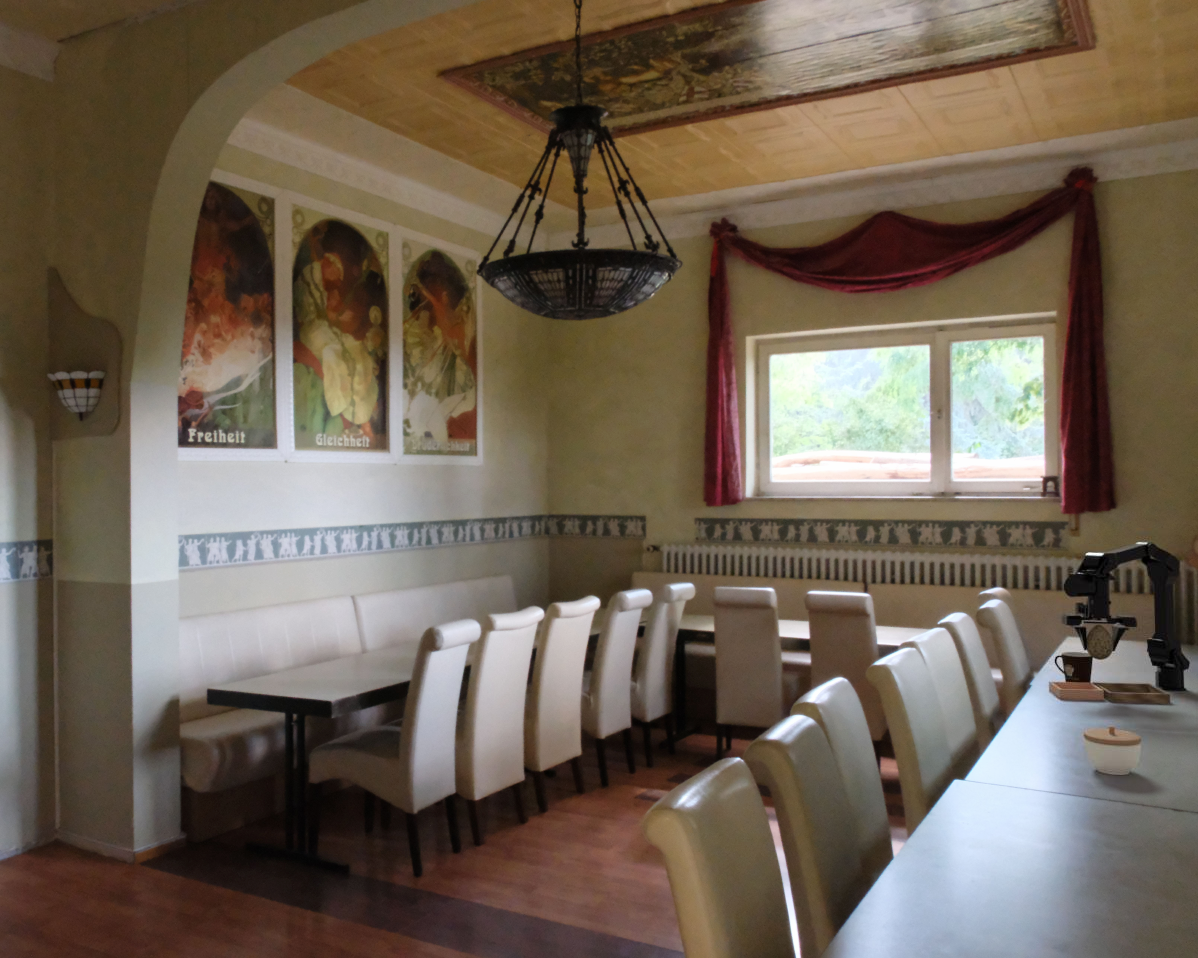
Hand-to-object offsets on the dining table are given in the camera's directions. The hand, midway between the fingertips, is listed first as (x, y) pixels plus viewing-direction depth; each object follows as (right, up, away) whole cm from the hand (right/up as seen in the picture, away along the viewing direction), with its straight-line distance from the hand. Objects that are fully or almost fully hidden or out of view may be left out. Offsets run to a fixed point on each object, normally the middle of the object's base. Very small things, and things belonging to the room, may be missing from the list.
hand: (1099, 650), depth 279 cm
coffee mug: (0, -14, +14) cm, 20 cm away
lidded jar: (-35, -13, -74) cm, 83 cm away
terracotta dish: (-6, -13, +1) cm, 15 cm away
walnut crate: (+8, -13, -1) cm, 15 cm away
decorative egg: (0, -3, 0) cm, 3 cm away
